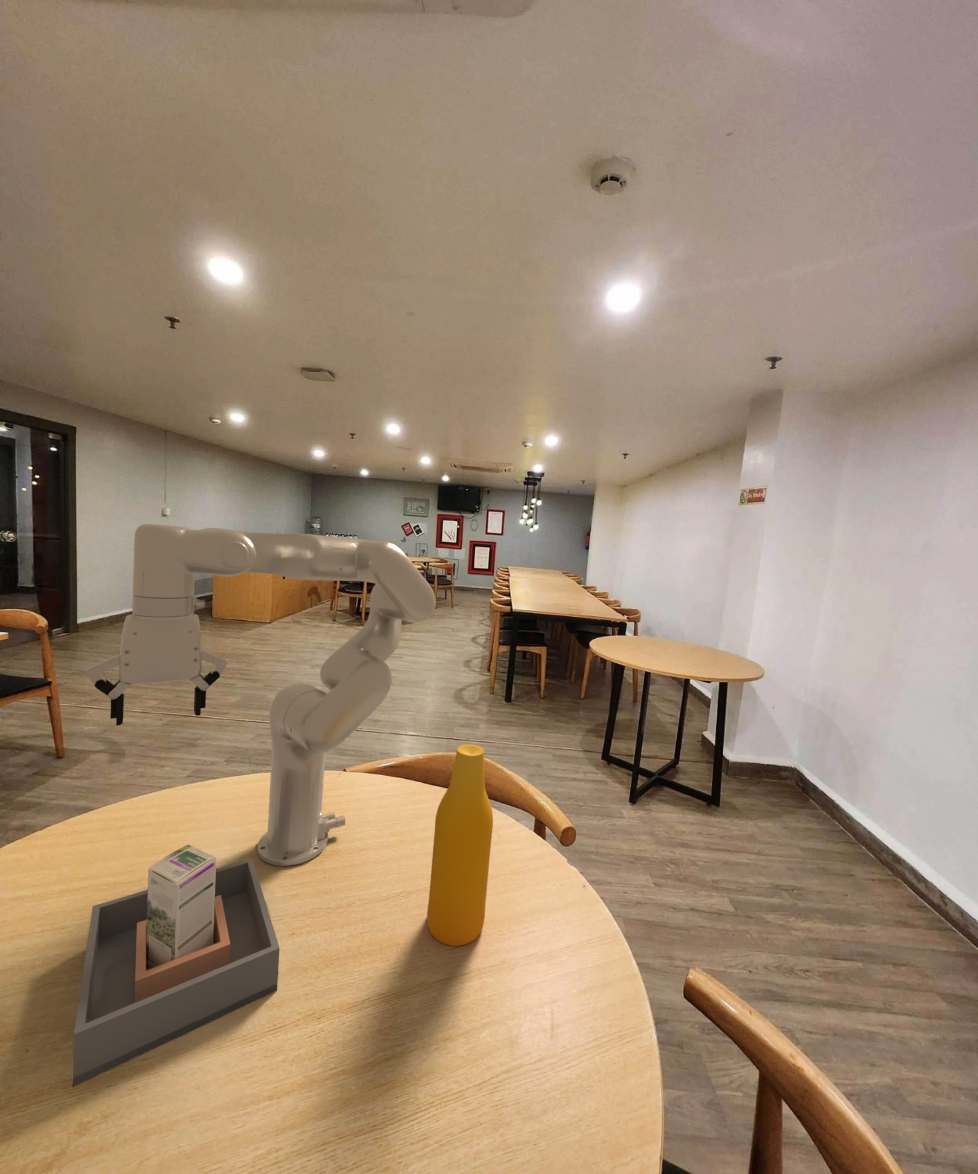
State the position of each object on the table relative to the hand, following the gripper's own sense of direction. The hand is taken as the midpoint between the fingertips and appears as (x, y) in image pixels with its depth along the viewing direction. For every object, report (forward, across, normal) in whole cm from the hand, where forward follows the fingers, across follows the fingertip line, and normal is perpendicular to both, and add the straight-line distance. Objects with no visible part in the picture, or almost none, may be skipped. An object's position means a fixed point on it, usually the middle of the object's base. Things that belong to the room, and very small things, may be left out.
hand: (160, 717), depth 70 cm
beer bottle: (+31, -39, +28) cm, 57 cm away
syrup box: (+30, -3, +15) cm, 33 cm away
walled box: (+30, -3, +15) cm, 34 cm away
